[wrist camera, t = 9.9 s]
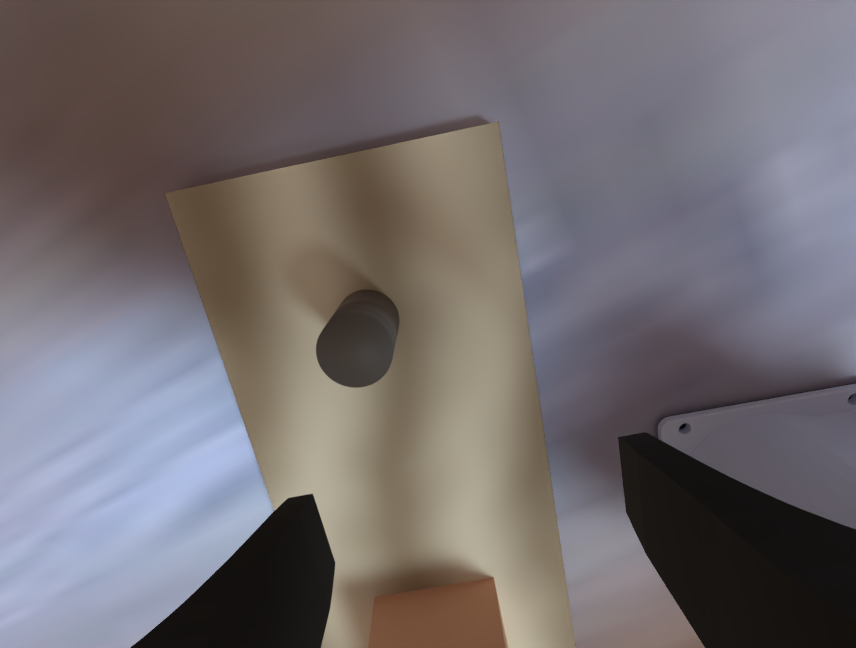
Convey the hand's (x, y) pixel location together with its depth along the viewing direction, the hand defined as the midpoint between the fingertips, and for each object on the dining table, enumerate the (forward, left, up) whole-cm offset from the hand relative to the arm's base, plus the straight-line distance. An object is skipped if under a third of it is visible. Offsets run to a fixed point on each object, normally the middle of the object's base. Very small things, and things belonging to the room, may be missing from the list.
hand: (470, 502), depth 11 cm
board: (+3, +5, -9) cm, 11 cm away
